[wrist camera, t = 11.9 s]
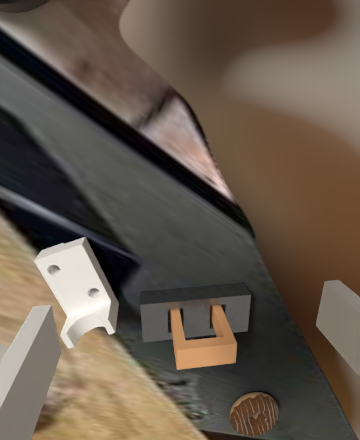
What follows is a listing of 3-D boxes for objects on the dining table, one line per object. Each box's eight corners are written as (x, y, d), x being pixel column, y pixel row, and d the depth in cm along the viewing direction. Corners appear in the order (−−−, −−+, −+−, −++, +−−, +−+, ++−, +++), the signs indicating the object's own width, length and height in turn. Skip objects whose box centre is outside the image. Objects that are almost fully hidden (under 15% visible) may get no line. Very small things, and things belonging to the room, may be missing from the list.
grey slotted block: (140, 291, 46) (140, 304, 42) (243, 282, 48) (251, 294, 45) (143, 327, 48) (143, 342, 45) (240, 317, 50) (247, 331, 47)
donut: (219, 419, 60) (224, 439, 56) (238, 384, 57) (245, 403, 53) (261, 423, 62) (269, 443, 59) (282, 390, 59) (291, 409, 55)
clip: (169, 301, 46) (176, 350, 37) (217, 297, 47) (237, 343, 38) (170, 318, 48) (177, 369, 38) (216, 313, 49) (235, 362, 39)
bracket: (119, 300, 46) (115, 332, 39) (79, 313, 46) (68, 348, 39) (86, 234, 41) (75, 257, 34) (42, 249, 41) (22, 276, 34)
